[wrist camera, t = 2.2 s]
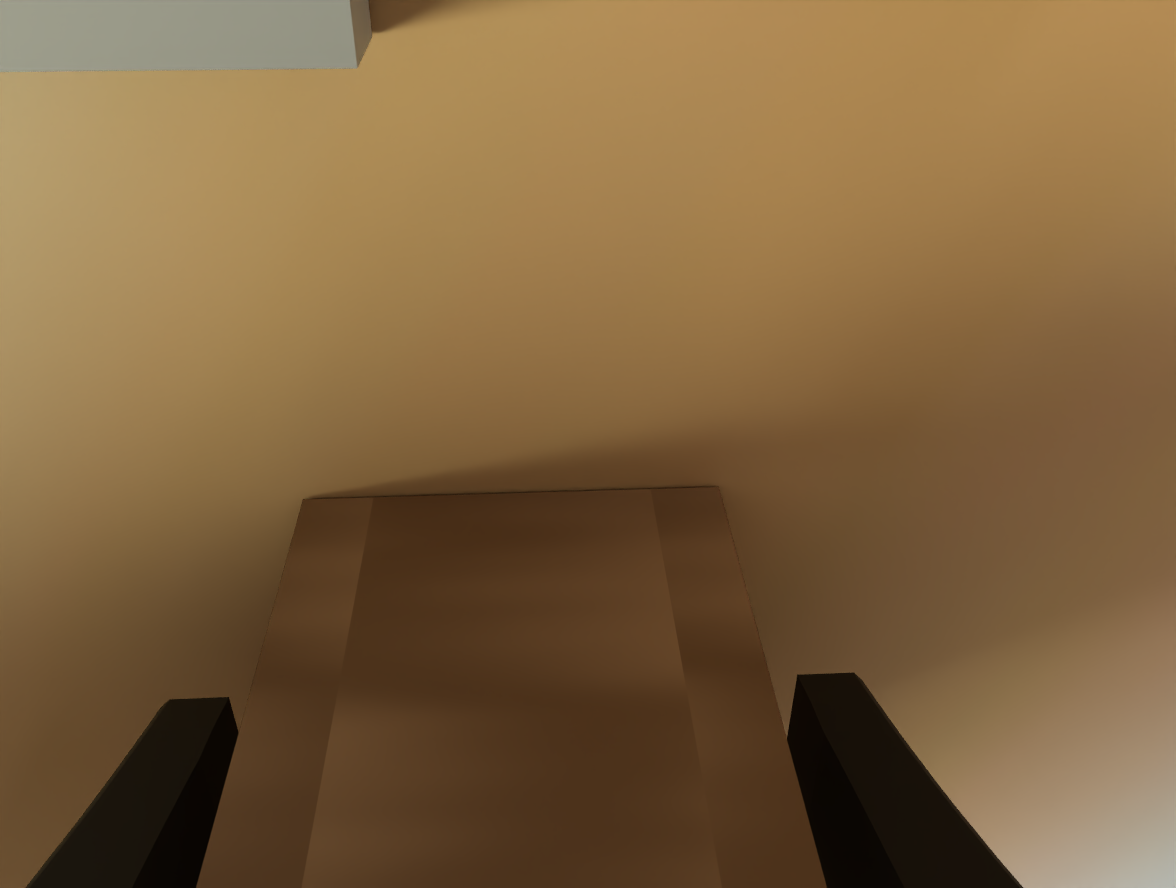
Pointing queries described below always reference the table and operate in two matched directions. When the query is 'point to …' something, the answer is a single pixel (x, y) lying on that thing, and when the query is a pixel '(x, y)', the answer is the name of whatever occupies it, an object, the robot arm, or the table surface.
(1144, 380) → the table surface
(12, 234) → the table surface
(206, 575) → the table surface
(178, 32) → the pin base
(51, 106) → the table surface
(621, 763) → the hollow wooden block
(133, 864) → the robot arm
